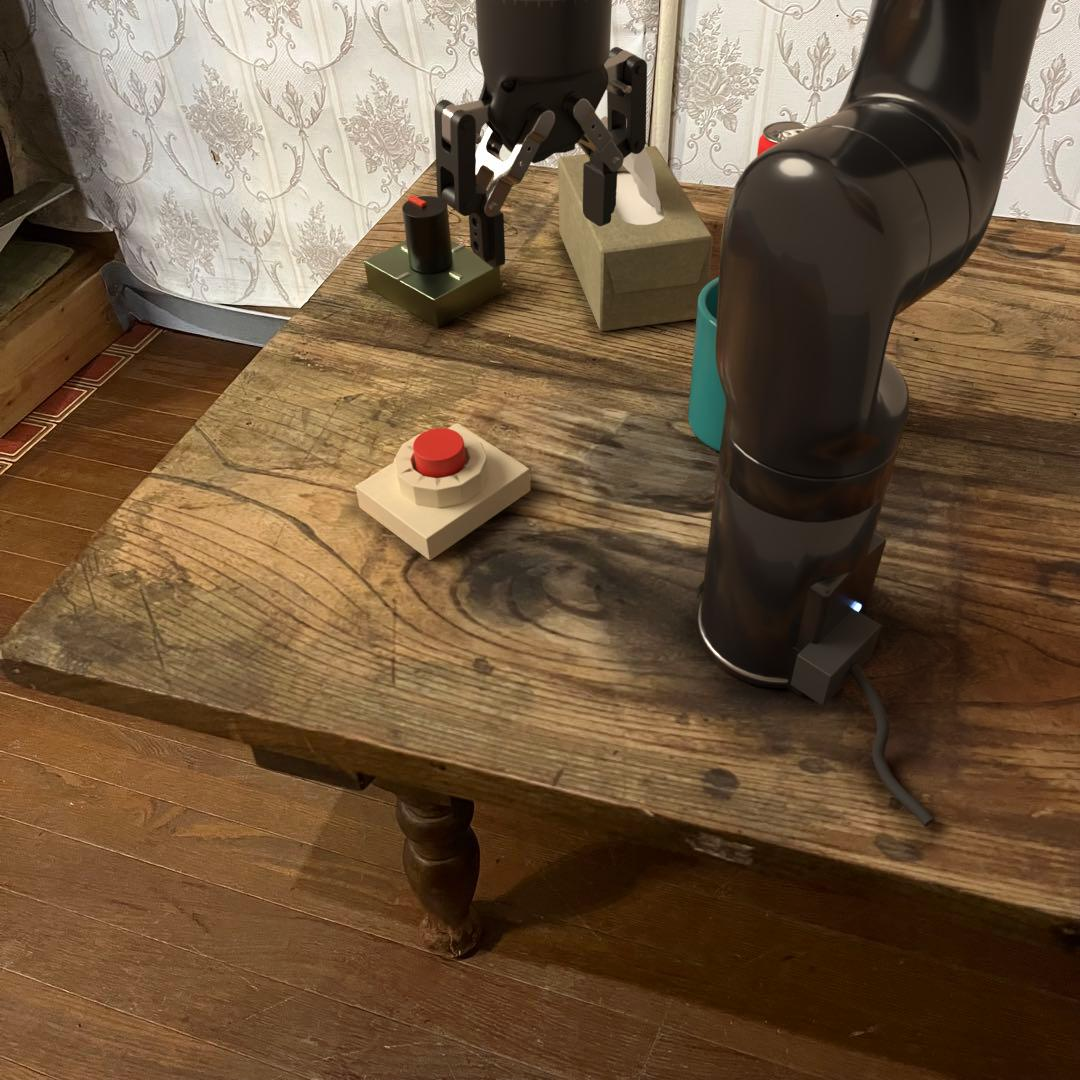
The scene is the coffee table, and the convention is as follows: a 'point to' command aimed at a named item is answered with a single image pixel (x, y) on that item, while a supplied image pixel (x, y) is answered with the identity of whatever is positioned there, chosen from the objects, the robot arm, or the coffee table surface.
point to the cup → (706, 373)
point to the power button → (439, 453)
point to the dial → (427, 234)
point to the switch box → (443, 494)
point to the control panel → (433, 283)
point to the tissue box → (636, 244)
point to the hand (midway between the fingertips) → (545, 240)
